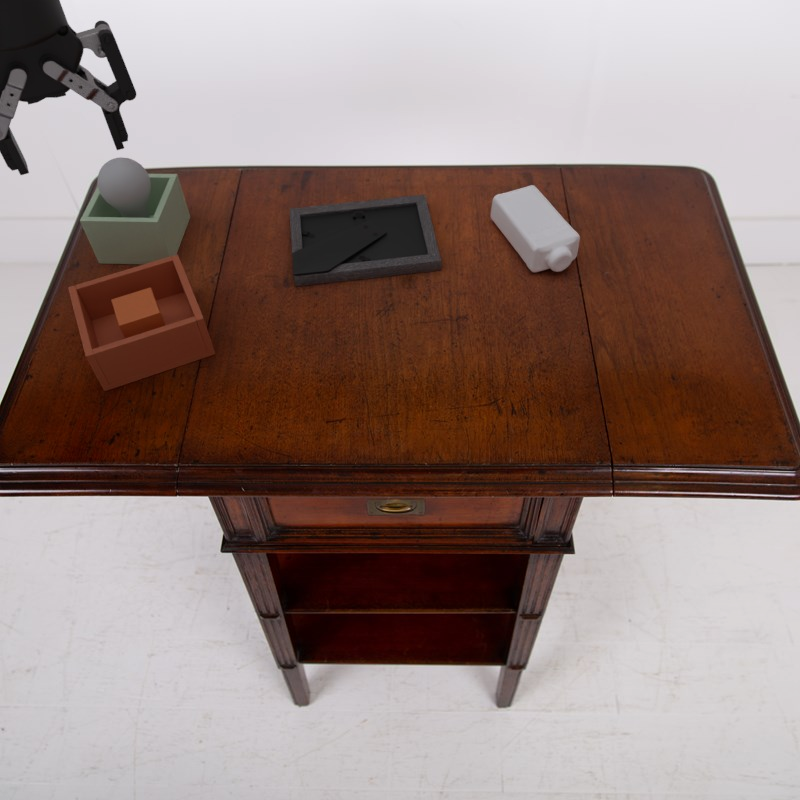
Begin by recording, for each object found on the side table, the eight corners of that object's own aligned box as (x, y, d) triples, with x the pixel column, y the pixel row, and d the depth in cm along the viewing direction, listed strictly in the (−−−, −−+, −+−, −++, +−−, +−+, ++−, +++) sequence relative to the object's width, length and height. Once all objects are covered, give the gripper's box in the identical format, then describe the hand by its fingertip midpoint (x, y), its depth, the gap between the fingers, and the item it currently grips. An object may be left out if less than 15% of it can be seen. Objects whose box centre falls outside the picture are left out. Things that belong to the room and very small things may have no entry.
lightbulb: (141, 257, 95) (112, 183, 87) (110, 239, 98) (79, 165, 89) (177, 231, 98) (153, 158, 90) (146, 214, 101) (119, 141, 92)
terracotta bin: (104, 391, 83) (85, 356, 78) (86, 323, 90) (67, 287, 85) (215, 354, 86) (203, 318, 81) (190, 290, 92) (177, 253, 88)
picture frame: (295, 286, 92) (441, 270, 93) (293, 274, 91) (441, 257, 92) (291, 218, 101) (425, 204, 102) (288, 206, 99) (425, 191, 100)
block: (131, 353, 85) (118, 325, 82) (123, 327, 88) (110, 299, 84) (171, 340, 86) (159, 312, 83) (161, 315, 89) (150, 286, 85)
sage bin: (172, 265, 95) (157, 221, 90) (98, 263, 96) (79, 220, 91) (190, 217, 101) (177, 173, 96) (120, 215, 102) (103, 172, 97)
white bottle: (536, 284, 91) (540, 257, 88) (489, 221, 99) (491, 194, 95) (583, 269, 93) (589, 242, 89) (533, 209, 100) (537, 182, 97)
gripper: (-110, 8, 52) (-5, 202, 65) (97, -35, 56) (159, 158, 68) (-113, -33, 57) (-13, 156, 69) (79, -70, 60) (141, 117, 73)
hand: (72, 157), depth 69 cm, fingers open, 8 cm apart
